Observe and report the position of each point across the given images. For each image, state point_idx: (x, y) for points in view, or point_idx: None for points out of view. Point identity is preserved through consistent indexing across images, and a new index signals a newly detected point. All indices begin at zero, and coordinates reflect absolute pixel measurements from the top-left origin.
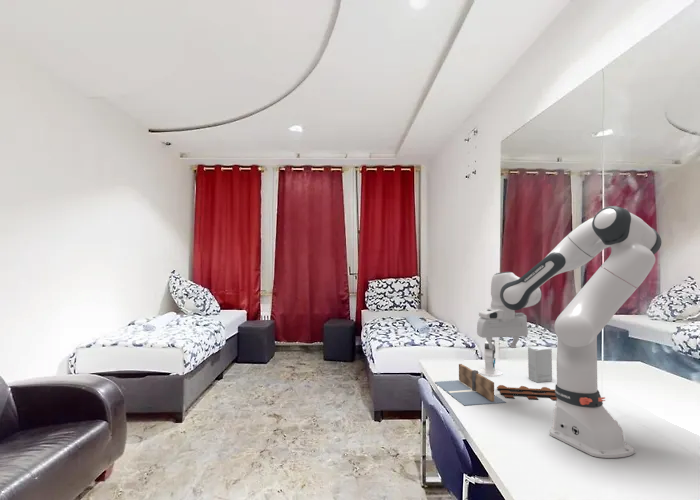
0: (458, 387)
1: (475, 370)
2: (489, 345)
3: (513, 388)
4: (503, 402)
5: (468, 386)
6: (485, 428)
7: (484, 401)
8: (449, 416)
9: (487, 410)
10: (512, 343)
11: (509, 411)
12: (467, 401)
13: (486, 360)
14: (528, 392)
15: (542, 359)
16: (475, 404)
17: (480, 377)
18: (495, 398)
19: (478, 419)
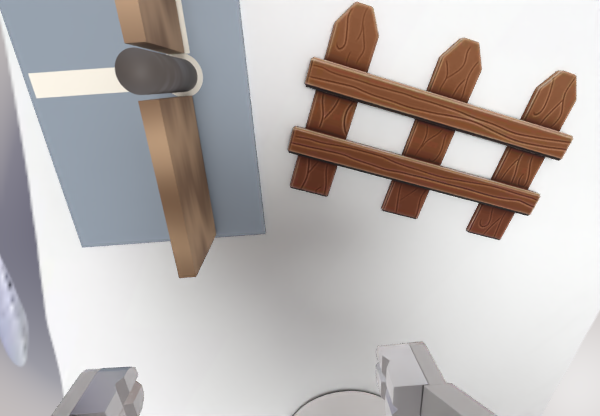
0: (99, 7)
1: (145, 57)
2: (70, 405)
3: (385, 97)
4: (255, 233)
5: None
6: None
7: None
8: (14, 323)
9: (163, 291)
10: (403, 412)
11: (239, 304)
12: (104, 214)
13: None
14: (430, 143)
15: None
16: (132, 242)
17: (156, 166)
18: (240, 194)
19: (109, 349)
